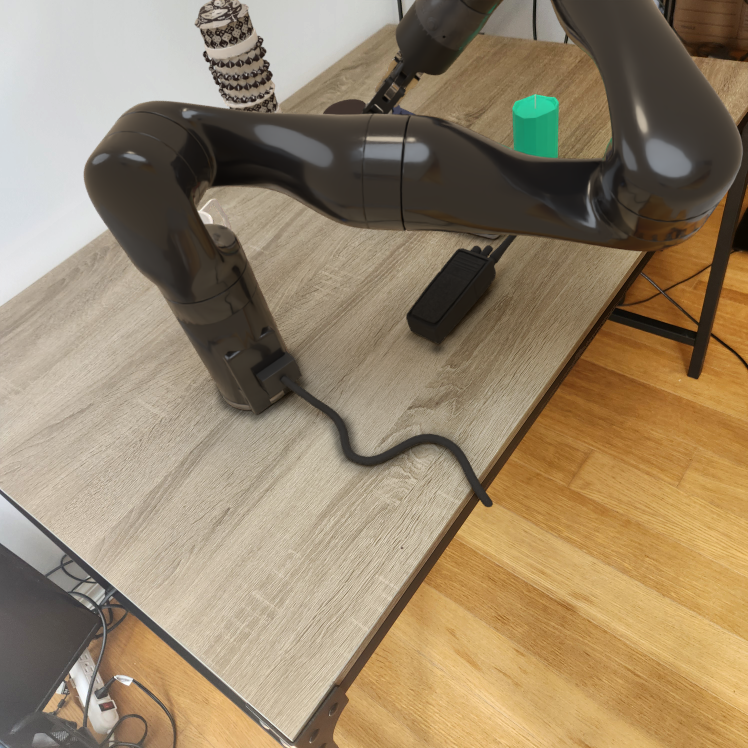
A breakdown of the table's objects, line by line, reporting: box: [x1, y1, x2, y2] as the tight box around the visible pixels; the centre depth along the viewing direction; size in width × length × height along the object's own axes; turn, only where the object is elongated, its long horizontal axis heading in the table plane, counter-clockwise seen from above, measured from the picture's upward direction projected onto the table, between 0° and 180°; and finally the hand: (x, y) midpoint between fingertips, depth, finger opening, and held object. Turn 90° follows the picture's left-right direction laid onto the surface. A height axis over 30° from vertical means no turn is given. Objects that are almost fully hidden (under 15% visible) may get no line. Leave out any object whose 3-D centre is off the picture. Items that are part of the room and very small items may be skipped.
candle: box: [511, 93, 560, 158], centre depth 89 cm, size 6×6×12 cm
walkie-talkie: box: [405, 235, 519, 345], centre depth 78 cm, size 6×6×20 cm
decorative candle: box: [194, 0, 284, 113], centre depth 101 cm, size 9×9×25 cm
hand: (370, 114), depth 84 cm, fingers open, 8 cm apart
